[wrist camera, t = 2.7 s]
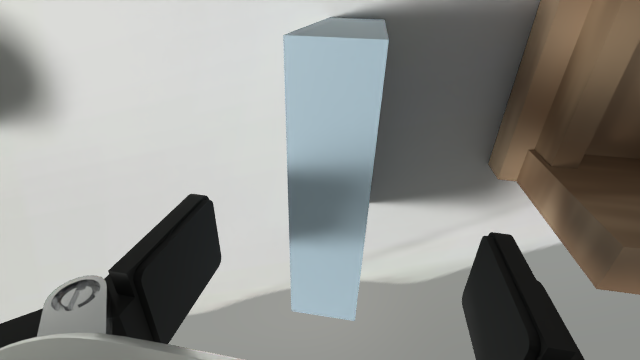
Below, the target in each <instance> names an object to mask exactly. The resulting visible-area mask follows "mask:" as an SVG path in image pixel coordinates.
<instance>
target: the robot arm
mask: <svg viewBox="0 0 640 360" xmlns="http://www.w3.org/2000/svg"><path fill="white" fill-rule="evenodd" d="M220 262H221V252H220V245H219V239H218V232H217V226H216V219H215V213H214V207H213V202H212V201H211V200H209V198H208V197H207V196H205V195H197V194H190V195H188V196H187V197H186V198H185V199H184V200H183V201H182V202H181V203H180V204H179V205H178V206H177V207H176V208H175V209H174V210H172V211H171V212H170V213H169V214H168V215H167V216H166V217H165V218H164V219H163V220H162V221H161V222H160V223H159V224H158V225H156V226H155V227H154V228H153V229H152V230H151V231H150V232H149V233H148V234H147V235H146V236H145V237H144V238H143V239H142V240H140V241H139V242H138V243H137V244H136V245H135V246H134V247H133V248H132V249H131V250H130V251H129V252H128V253H127V254H126V255H125V256H123V257H122V258H121V259H120V260H119V261H118V262H117V263H116V264H115V265H114V266H113V267H112V268H111V269H110V270H109V275H108V276H107V277H106V278H105V279H103V278H102V277H99V276H83V277H78V278H76V279H73V280H70V281H68V282H66V283H64V284H63V285H61V286H59V287H58V288H57V289H55V290H54V291H53V292H52V293H51V294H50V295H49V296H48V297H47V299H46V301H45V303H44V307H43V309H40V310H38V311H35V312H32V313H29V314H26V315H24V316H21V317H18V318H15V319H12V320H10V321H7V322H4V323H1V324H0V360H244V359H239V358H234V357H229V356H224V355H219V354H214V353H209V352H204V351H199V350H194V349H188V348H184V347H179V346H174V345H169V344H168V343H169V342H170V340H171V338H172V337H173V336H174V334H175V333H176V331H177V330H178V328H179V326H180V325H181V323H182V322H183V320H184V319H185V317H186V316H187V314H188V313H189V311H190V310H191V308H192V307H193V305H194V304H195V302H196V301H197V299H198V297H199V296H200V294H201V293H202V291H203V290H204V288H205V287H206V285H207V284H208V282H209V281H210V279H211V278H212V276H213V275H214V273H215V271H216V270H217V268H218V267H219V265H220ZM462 305H463V309H464V314H465V318H466V322H467V325H468V329H469V333H470V337H471V341H472V345H473V349H474V353H475V357H476V360H584V358H583V356H582V354H581V353H580V351H579V349H578V347H577V345H576V344H575V342H574V340H573V338H572V337H571V335H570V333H569V331H568V329H567V328H566V326H565V324H564V322H563V321H562V319H561V317H560V315H559V313H558V312H557V310H556V308H555V306H554V305H553V303H552V301H551V299H550V297H549V296H548V294H547V292H546V290H545V288H544V287H543V285H542V284H541V283H540V282H539V281H537V280H536V278H535V277H534V275H533V273H532V271H531V269H530V268H529V266H528V264H527V262H526V260H525V258H524V257H523V255H522V253H521V251H520V249H519V247H518V246H517V244H516V242H515V240H514V238H513V237H512V236H511V235H509V234H501V233H493V232H491V233H490V234H489V235H488V236H483V237H482V240H481V242H480V245H479V248H478V251H477V254H476V257H475V260H474V263H473V266H472V269H471V272H470V275H469V278H468V281H467V283H466V286H465V289H464V292H463V297H462Z"/></svg>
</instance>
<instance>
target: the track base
mask: <svg viewBox="0 0 640 360" xmlns="http://www.w3.org/2000/svg"><path fill="white" fill-rule="evenodd" d="M488 165H489V166H490V168H491V169H492V171H493V172H494V174H495V176H496V177H497V179H499V180H509V181H517V183H518V184H519V185H520V187H521V188H522V189H523V191H524V192H525V194H526V195H527V196H528V198H529V199H530V200H531V202H532V203H533V204H534V206H535V207H536V208H537V210H538V211H539V212H540V214H541V215H542V216H543V218H544V219H545V220H546V222H547V223H548V224H549V226H550V227H551V228H552V230H553V231H554V232H555V234H556V235H557V236H558V238H559V239H560V241H561V242H562V243H563V245H564V246H565V247H566V248H567V250H568V251H569V253H570V254H571V255H572V257H573V258H574V259H575V261H576V262H577V263H578V265H579V266H580V267H581V269H582V270H583V271H584V273H585V274H586V275H587V277H588V278H589V279H590V281H591V282H592V283H593V285H594V286H595V288H596V289H601V290H609V291H617V292H624V293H632V294H639V295H640V0H541V1H540V4H539V7H538V10H537V13H536V16H535V20H534V23H533V26H532V29H531V32H530V35H529V38H528V41H527V44H526V48H525V51H524V54H523V57H522V60H521V63H520V66H519V69H518V73H517V76H516V79H515V82H514V85H513V88H512V91H511V94H510V97H509V101H508V104H507V107H506V110H505V113H504V116H503V119H502V122H501V126H500V129H499V132H498V135H497V138H496V141H495V144H494V147H493V150H492V154H491V157H490V160H489V163H488Z"/></svg>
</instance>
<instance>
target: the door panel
mask: <svg viewBox="0 0 640 360" xmlns="http://www.w3.org/2000/svg"><path fill="white" fill-rule="evenodd" d="M283 36H284V70H285V104H286V138H287V172H288V205H289V239H290V273H291V306H292V311H295V312H301V313H308V314H314V315H321V316H327V317H333V318H339V319H346V320H352V321H355V314H356V306H357V297H358V289H359V282H360V274H361V265H362V257H363V249H364V241H365V232H366V224H367V216H368V208H369V200H370V191H371V183H372V175H373V167H374V158H375V150H376V142H377V134H378V125H379V117H380V109H381V101H382V92H383V84H384V76H385V68H386V59H387V51H388V43H389V38H388V33H387V29H386V24H385V19H359V18H331V17H330V18H327V19H325V20H322V21H319V22H317V23H314V24H311V25H309V26H306V27H303V28H301V29H298V30H296V31H293V32H290V33H288V34H285V35H283Z"/></svg>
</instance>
